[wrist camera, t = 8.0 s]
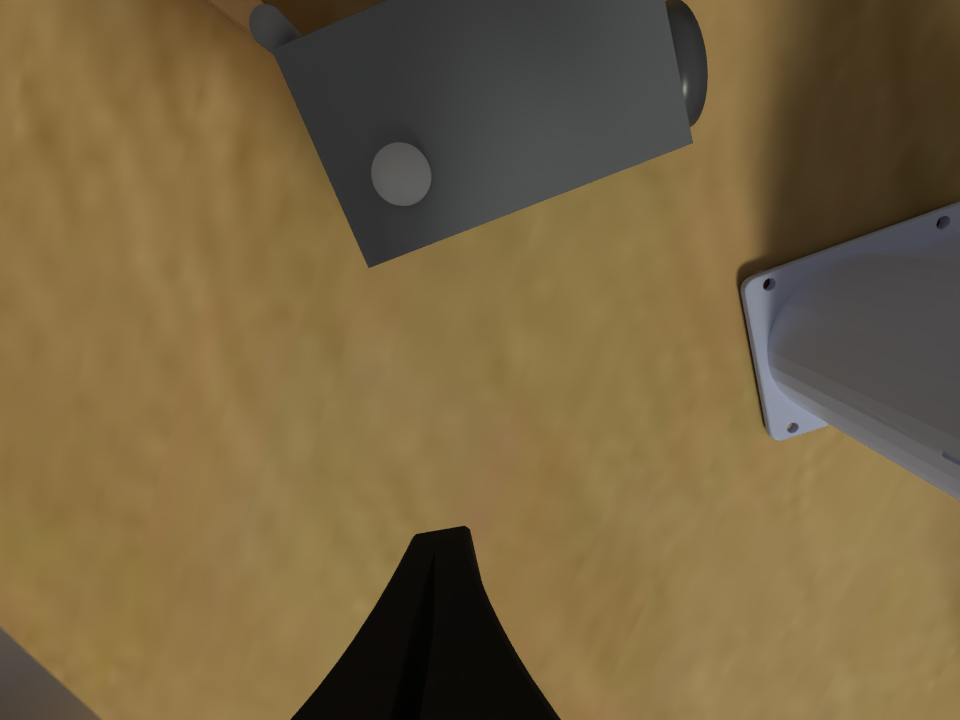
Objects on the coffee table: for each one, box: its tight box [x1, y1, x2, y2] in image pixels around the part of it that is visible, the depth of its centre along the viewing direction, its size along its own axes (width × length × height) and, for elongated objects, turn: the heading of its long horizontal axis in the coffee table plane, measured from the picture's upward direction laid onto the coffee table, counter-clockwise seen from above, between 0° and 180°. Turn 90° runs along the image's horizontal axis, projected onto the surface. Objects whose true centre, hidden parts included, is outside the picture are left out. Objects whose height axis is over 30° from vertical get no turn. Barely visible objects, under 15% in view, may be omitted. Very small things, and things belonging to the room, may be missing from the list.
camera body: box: [272, 0, 708, 268], centre depth 14 cm, size 11×6×6 cm, turn 110°
